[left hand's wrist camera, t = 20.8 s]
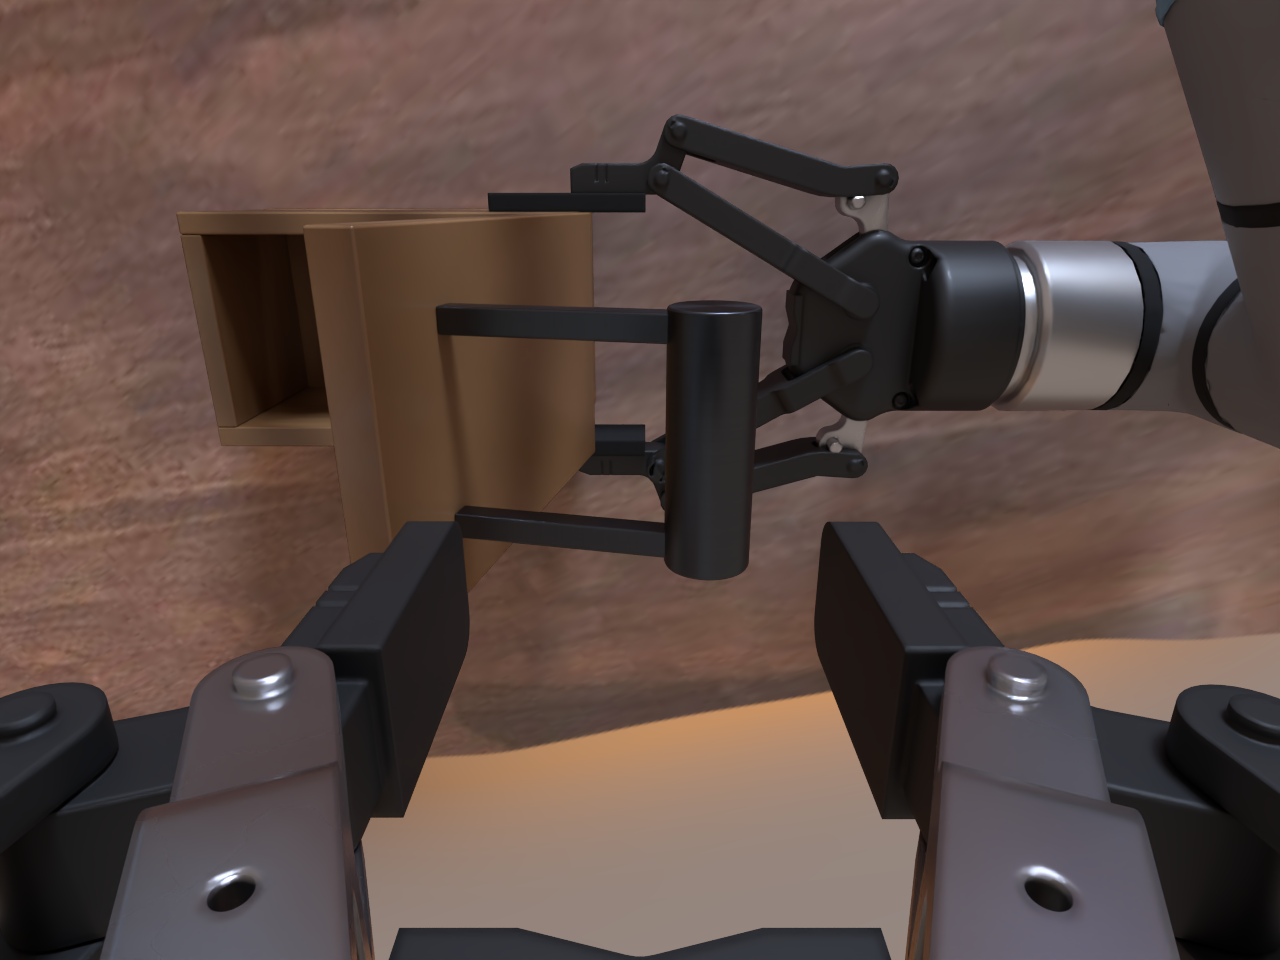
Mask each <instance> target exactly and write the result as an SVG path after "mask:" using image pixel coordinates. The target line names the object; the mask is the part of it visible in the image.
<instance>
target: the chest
mask: <svg viewBox="0 0 1280 960" xmlns="http://www.w3.org/2000/svg"><path fill="white" fill-rule="evenodd" d="M541 213H562V212H489V209H264V210H232V211H194V212H177V220H178V225H179V230H180V233H181V234H183V235H181V241H182V246H183V251H184V256H185V261H186V267H187V272H188V277H189V282H190V287H191V292H192V297H193V302H194V307H195V313H196V318H197V323H198V328H199V333H200V338H201V343H202V348H203V353H204V358H205V364H206V369H207V374H208V379H209V384H210V389H211V394H212V399H213V404H214V410H215V415H216V420H217V425H218V431H219V436H220V441H221V446H334V443H333V436H332V429H331V422H330V415H329V408H328V401H327V394H326V387H325V380H324V373H323V366H322V359H321V352H320V345H319V338H318V331H317V324H316V317H315V310H314V303H313V296H312V289H311V283H310V276H309V269H308V262H307V255H306V248H305V241H304V234H303V226H305V225H312V224H333V223H353V222H374V221H395V220H416V219H437V218H458V217H478V216H499V215H520V214H541ZM589 213H590V219H591V267H592V307H594V288H593V237H592V212H589ZM593 365H594V404H595V400H596V389H595V341H593Z"/></svg>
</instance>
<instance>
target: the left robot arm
mask: <svg viewBox="0 0 1280 960" xmlns="http://www.w3.org/2000/svg"><path fill="white" fill-rule="evenodd" d="M328 588H329V589H328V591H325V592H324V593H323V594H322V596H321V597H320V598H319V599H318V601H317V602H316V607H312V608H311V609H310V611H309V612H308V613H307V614H306V616H305V617H304V618H303V619H302V620H301V622H300V623H299V624H298V625H297V627H296V628H295V629H294V630H293V632H292V633H291V634H290V635H289V637H288V638H287V639H286V640H285V642H284V643H283V644H282V645H281V647H274V648H268V649H263V650H259V651H255V652H252V653H249V654H245V655H243V656H240V657H238V658H235V659H233V660H231V661H229V662H227V663H225V664H223V665H221V666H219V667H218V668H216V669H215V670H213V671H212V672H210V673H209V674H208V675H207V676H205V677H204V678H203V679H202V680H201V681H200V682H199V683H198V685H197V686H196V688H195V689H194V692H193V694H192V697H191V702H190V706H189V707H185V708H180V709H176V710H170V711H165V712H160V713H154V714H149V715H144V716H139V717H133V718H128V719H123V720H117V721H113V719H112V715H111V712H110V708H109V705H108V701H107V698H106V695H105V694H104V692H103V691H102V690H101V689H100V688H98V687H95V686H93V685H90V684H85V683H73V682H72V683H57V684H49V685H43V686H38V687H34V688H30V689H26V690H22V691H19V692H16V693H13V694H10V695H7V696H4V697H2V698H0V960H375V956H374V947H373V937H372V927H371V917H370V908H369V898H368V889H367V879H366V869H365V860H364V853H363V847H362V841H361V839H362V836H363V834H364V832H365V829H366V827H367V825H368V823H369V820H370V818H372V817H373V818H375V817H376V818H377V817H378V818H382V817H383V818H389V817H393V818H399V817H400V818H401V817H404V815H405V812H406V809H407V807H408V804H409V801H410V799H411V796H412V794H413V791H414V788H415V786H416V783H417V781H418V778H419V775H420V773H421V770H422V768H423V765H424V762H425V760H426V757H427V755H428V752H429V749H430V747H431V744H432V742H433V739H434V736H435V734H436V731H437V729H438V726H439V723H440V721H441V718H442V715H443V713H444V710H445V708H446V705H447V702H448V700H449V697H450V695H451V692H452V689H453V687H454V684H455V682H456V679H457V676H458V674H459V671H460V669H461V666H462V663H463V661H464V658H465V655H466V652H467V647H468V640H469V624H470V622H469V605H468V594H467V582H466V571H465V559H464V548H463V537H462V531H461V528H460V525H459V523H458V522H457V521H408V522H406V523H405V524H404V525H403V527H402V528H401V530H400V531H399V532H398V534H397V535H396V536H395V538H394V539H393V540H392V542H391V543H390V545H389V546H388V547H387V549H386V550H385V551H384V553H369V554H367V555H366V556H364V557H362V558H360V559H359V560H357V561H355V562H354V563H352V564H350V565H349V566H347V567H345V568H344V569H343V570H342V571H341V572H340V573H339V575H338V576H337V577H336V578H335V580H334V581H333V582H332V583H331V585H330V586H329V587H328ZM814 630H815V642H816V648H817V653H818V656H819V659H820V662H821V664H822V667H823V669H824V672H825V674H826V677H827V679H828V682H829V685H830V687H831V690H832V692H833V695H834V697H835V700H836V702H837V705H838V708H839V710H840V713H841V715H842V718H843V720H844V723H845V725H846V728H847V731H848V733H849V736H850V738H851V741H852V743H853V746H854V748H855V751H856V753H857V756H858V759H859V761H860V764H861V766H862V769H863V771H864V774H865V776H866V779H867V782H868V784H869V787H870V789H871V792H872V794H873V797H874V799H875V802H876V804H877V807H878V810H879V812H880V815H881V817H882V819H915V820H916V822H917V824H918V826H919V829H920V835H919V841H918V847H917V853H916V860H915V869H914V879H913V889H912V898H911V908H910V917H909V927H908V937H907V946H906V956H905V960H1280V699H1279V698H1276V697H1273V696H1270V695H1267V694H1264V693H1260V692H1257V691H1253V690H1249V689H1244V688H1239V687H1234V686H1226V685H1199V686H1194V687H1190V688H1188V689H1186V690H1184V691H1183V692H1181V693H1180V694H1179V696H1178V698H1177V700H1176V704H1175V707H1174V711H1173V714H1172V718H1171V721H1170V722H1167V721H1162V720H1157V719H1151V718H1146V717H1141V716H1135V715H1130V714H1125V713H1119V712H1114V711H1109V710H1105V709H1100V708H1096V707H1093V706H1090V702H1089V697H1088V694H1087V692H1086V689H1085V688H1084V686H1083V685H1082V683H1081V682H1080V681H1079V680H1078V679H1077V678H1076V677H1075V676H1073V675H1072V674H1071V673H1070V672H1068V671H1067V670H1065V669H1064V668H1062V667H1061V666H1059V665H1057V664H1055V663H1053V662H1051V661H1049V660H1047V659H1045V658H1042V657H1040V656H1037V655H1035V654H1031V653H1028V652H1025V651H1021V650H1017V649H1012V648H1006V647H1004V645H1003V644H1002V643H1001V642H1000V640H999V639H998V638H997V637H996V636H995V634H994V633H993V632H992V631H991V629H990V628H989V627H988V626H987V625H986V623H985V622H984V621H983V620H982V618H981V617H980V616H979V615H978V614H977V612H976V611H975V610H974V609H973V607H969V603H968V601H967V600H966V599H965V598H964V596H963V595H962V594H961V593H960V592H957V590H956V587H955V585H954V584H953V583H952V582H951V581H950V579H949V578H948V577H947V576H946V574H945V573H944V572H943V571H942V570H941V569H940V568H938V567H936V566H935V565H933V564H931V563H930V562H928V561H926V560H925V559H923V558H921V557H919V556H918V555H916V554H914V553H901V552H900V551H899V550H898V548H897V547H896V546H895V544H894V543H893V542H892V540H891V539H890V538H889V536H888V535H887V534H886V532H885V531H884V530H883V528H882V527H881V525H880V524H879V523H878V522H827V523H826V524H825V526H824V528H823V532H822V538H821V548H820V560H819V571H818V582H817V594H816V605H815V617H814ZM389 960H891V958H890V955H889V952H888V949H887V946H886V943H885V940H884V936H883V934H882V930H881V928H761V929H756V930H753V931H748V932H744V933H740V934H736V935H732V936H728V937H724V938H720V939H716V940H712V941H708V942H704V943H700V944H696V945H692V946H688V947H684V948H680V949H676V950H672V951H668V952H664V953H660V954H656V955H651V956H645V957H635V956H629V955H624V954H620V953H616V952H612V951H608V950H604V949H600V948H596V947H592V946H588V945H584V944H580V943H576V942H572V941H568V940H564V939H560V938H556V937H552V936H548V935H544V934H540V933H536V932H532V931H528V930H524V929H520V928H399V930H398V934H397V936H396V940H395V943H394V946H393V949H392V952H391V955H390V958H389Z"/></svg>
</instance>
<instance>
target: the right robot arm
mask: <svg viewBox="0 0 1280 960" xmlns="http://www.w3.org/2000/svg"><path fill="white" fill-rule="evenodd" d="M1156 4H1157V6H1156V9H1155V11H1156V16H1157V18H1158V21H1159V24H1160V25H1161V26H1163V27H1165V31H1166V34H1167V37H1168V41H1169V44H1170V47H1171V51H1172V54H1173V57H1174V61H1175V64H1176V67H1177V71H1178V74H1179V77H1180V80H1181V84H1182V87H1183V90H1184V94H1185V97H1186V100H1187V104H1188V107H1189V110H1190V114H1191V117H1192V120H1193V123H1194V127H1195V130H1196V133H1197V137H1198V140H1199V143H1200V147H1201V150H1202V153H1203V157H1204V160H1205V163H1206V167H1207V170H1208V173H1209V176H1210V180H1211V183H1212V186H1213V190H1214V193H1215V197H1216V200H1217V205H1218V208H1219V212H1220V215H1221V221H1222V224H1223V228H1224V231H1225V235H1226V239H1227V241H1181V242H1140V243H1126V242H1111V241H1016V242H1012V243H1011V244H1009V245H1007V246H1006V247H1004V246H1003V245H1002V244H1000V243H999V242H996V241H906V240H903V239H901V238H899V237H897V236H895V235H894V234H892V233H890V232H888V231H887V228H888V203H889V193H890V192H891V191H893V190H894V189H895V187H896V185H897V183H898V179H899V177H898V172H897V170H896V168H895V167H894V166H892V165H891V164H885V163H884V164H870V165H856V166H840V165H837V164H834V163H831V162H828V161H825V160H822V159H819V158H815V157H812V156H809V155H806V154H803V153H800V152H797V151H794V150H790V149H787V148H784V147H781V146H778V145H775V144H772V143H769V142H765V141H762V140H759V139H756V138H753V137H750V136H747V135H744V134H740V133H737V132H734V131H731V130H728V129H725V128H722V127H719V126H716V125H712V124H709V123H706V122H703V121H700V120H697V119H694V118H691V117H687V116H684V115H674V116H671V117H670V118H669V119H668V120H667V122H666V124H665V126H664V129H663V132H662V134H661V137H660V140H659V143H658V146H657V149H656V151H655V153H654V155H653V156H652V157H651V158H650V159H649V160H648V161H646V162H643V163H582V164H579V165H577V166H575V167H573V168H570V178H571V193H488V205H489V212H645V194H651V195H658V196H660V197H661V198H663V199H665V200H666V201H668V202H669V203H671V204H673V205H674V206H676V207H678V208H679V209H681V210H682V211H684V212H686V213H687V214H689V215H691V216H692V217H694V218H695V219H697V220H699V221H700V222H702V223H704V224H705V225H707V226H709V227H710V228H712V229H713V230H715V231H717V232H718V233H720V234H722V235H723V236H725V237H726V238H728V239H730V240H731V241H733V242H735V243H736V244H738V245H739V246H741V247H743V248H744V249H746V250H748V251H749V252H751V253H752V254H754V255H756V256H757V257H759V258H761V259H762V260H764V261H765V262H767V263H769V264H770V265H772V266H773V267H775V268H777V269H778V270H780V271H781V272H783V273H785V274H786V275H788V276H790V277H791V278H793V279H795V280H794V282H793V283H792V285H791V288H790V290H787V293H786V312H787V317H788V321H789V326H788V329H787V332H786V335H785V338H784V341H783V356H782V357H783V358H784V360H785V362H786V365H784V366H782V367H781V368H779V369H777V370H775V371H773V372H772V373H770V374H769V375H767V377H766V378H765V379H764V380H762V381H761V382H759V383H758V398H757V417H756V428H758V427H760V426H762V425H764V424H765V423H767V422H769V421H771V420H773V419H775V418H777V417H779V416H780V415H783V414H788V413H792V412H795V411H797V410H799V409H801V408H803V407H805V406H806V405H808V404H810V403H812V402H814V401H816V400H818V399H819V398H821V399H822V400H823V401H825V402H826V403H828V404H829V405H830V406H832V407H833V408H834V409H836V410H837V411H838V412H840V413H841V414H842V415H841V418H840V419H839V421H838V422H837V423H836V424H834V425H831V426H826V427H823V428H821V429H820V430H819V431H818V433H817V435H816V437H807V438H799V439H795V440H791V441H787V442H783V443H779V444H776V445H772V446H768V447H765V448H761V449H757V450H755V454H754V472H753V490H752V493H754V492H758V491H762V490H766V489H770V488H773V487H777V486H781V485H785V484H788V483H792V482H796V481H800V480H803V479H807V478H811V477H815V476H828V477H844V478H858V477H860V476H862V475H863V474H864V473H865V472H866V470H867V467H868V466H867V460H866V458H865V457H864V456H863V455H862V448H863V442H864V436H865V430H866V425H867V420H870V419H872V418H874V417H876V416H878V415H880V414H882V413H885V412H889V411H896V410H901V411H979V410H983V409H985V408H987V407H989V406H990V405H991V406H993V407H994V408H996V409H997V410H1002V411H1047V410H1149V411H1174V412H1181V413H1187V414H1191V415H1194V416H1197V417H1199V418H1202V419H1205V420H1207V421H1210V422H1212V423H1215V424H1217V425H1220V426H1222V427H1225V428H1227V429H1230V430H1233V431H1236V432H1238V433H1241V434H1245V435H1247V436H1250V437H1252V438H1255V439H1257V440H1260V441H1262V442H1265V443H1267V444H1270V445H1272V446H1275V447H1277V448H1280V0H1156ZM685 155H689V156H693V157H696V158H699V159H702V160H705V161H708V162H712V163H715V164H718V165H721V166H724V167H727V168H731V169H734V170H737V171H740V172H743V173H746V174H750V175H753V176H756V177H759V178H762V179H765V180H769V181H772V182H775V183H778V184H781V185H784V186H788V187H791V188H794V189H797V190H800V191H804V192H807V193H810V194H814V195H818V196H824V197H835V207H836V209H837V211H838V212H839V213H840V214H842V215H844V216H848V217H851V218H853V219H854V220H855V221H856V222H857V224H858V226H859V232H858V233H856V234H855V235H853V236H852V237H850V238H849V239H848V240H846V241H845V242H843V243H842V244H841V245H839V246H838V247H836V248H835V249H834V250H832V251H831V252H829V253H828V254H827V255H825V256H824V257H822V258H821V259H820V258H818V257H817V256H815V255H814V254H812V253H810V252H809V251H807V250H806V249H804V248H802V247H800V246H799V245H797V244H795V243H793V242H792V241H790V240H788V239H787V238H785V237H784V236H782V235H780V234H779V233H777V232H776V231H774V230H772V229H771V228H769V227H768V226H766V225H764V224H763V223H761V222H760V221H758V220H756V219H755V218H753V217H752V216H750V215H748V214H747V213H745V212H743V211H742V210H740V209H739V208H737V207H735V206H734V205H732V204H731V203H729V202H727V201H726V200H724V199H723V198H721V197H719V196H718V195H716V194H715V193H713V192H711V191H710V190H708V189H707V188H705V187H703V186H702V185H700V184H699V183H697V182H695V181H694V180H692V179H691V178H689V177H687V176H686V175H684V174H683V173H681V172H680V169H681V166H682V163H683V160H684V158H685ZM665 448H666V434H664V435H662V436H660V437H659V438H657V439H655V440H653V441H652V442H645V425H595V452H594V453H593V455H592V456H591V457H590V458H589V459H588V460H587V461H586V462H585V463H584V465H583V466H582V467H581V468H580V469H579V471H581V472H584V473H586V474H589V475H643V476H646V477H648V478H649V479H650V480H651V481H652V482H653V484H654V486H655V488H656V491H657V493H658V496H659V499H660V502H661V507H662V508H663V510H664V511H665Z"/></svg>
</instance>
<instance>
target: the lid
mask: <svg viewBox="0 0 1280 960" xmlns="http://www.w3.org/2000/svg"><path fill="white" fill-rule="evenodd" d="M303 234H304V241H305V248H306V255H307V262H308V269H309V276H310V283H311V289H312V296H313V303H314V310H315V317H316V324H317V331H318V338H319V345H320V352H321V359H322V366H323V373H324V380H325V387H326V394H327V401H328V408H329V415H330V422H331V429H332V436H333V443H334V450H335V457H336V464H337V471H338V478H339V485H340V492H341V499H342V506H343V513H344V520H345V527H346V534H347V541H348V548H349V555H350V562H351V564H352V563H354V562H355V561H357V560H359V559H360V558H362V557H364V556H366V555H367V554H369V553H384V551H385V550H386V549H387V547H388V546H389V545H390V543H391V542H392V540H393V539H394V538H395V536H396V535H397V534H398V532H399V531H400V530H401V528H402V527H403V525H404V524H405V523H406V522H408V521H457V522H458V523H459V525H460V528H461V531H462V537H463V548H464V559H465V571H466V582H467V593H468V592H469V591H470V590H471V589H472V588H473V587H474V586H475V584H476V583H477V582H478V581H479V580H480V579H481V578H482V577H483V576H484V574H485V573H486V572H487V571H488V570H489V569H490V568H491V567H492V566H493V564H494V563H495V562H496V561H497V560H498V559H499V558H500V557H501V556H502V554H503V553H504V552H505V551H506V550H507V549H508V548H509V547H510V546H511V544H512V543H520V544H531V545H541V546H551V547H561V548H572V549H582V550H592V551H602V552H613V553H623V554H633V555H644V556H654V557H664V561H665V564H666V565H667V567H668V568H669V569H670V570H671V571H673V572H675V573H676V574H679V575H681V576H684V577H687V578H692V579H698V580H721V579H727V578H731V577H734V576H737V575H739V574H740V573H742V572H743V571H744V570H745V569H746V568H747V566H748V563H749V545H750V527H751V509H752V490H753V472H754V454H755V435H756V417H757V398H758V380H759V362H760V343H761V325H762V308H761V307H760V306H758V305H756V304H752V303H746V302H736V301H715V300H707V301H686V302H679V303H674V304H671V305H669V306H668V308H667V309H634V308H601V307H592V267H591V219H590V213H589V212H562V213H541V214H520V215H499V216H478V217H458V218H437V219H416V220H395V221H374V222H353V223H333V224H312V225H305V226H303ZM593 341H603V342H629V343H654V344H667V367H666V448H665V523H660V522H649V521H637V520H626V519H614V518H603V517H592V516H580V515H569V514H558V513H546V512H541V511H542V510H543V509H544V508H545V507H546V506H547V504H548V503H549V502H550V501H551V500H552V499H553V498H554V497H555V496H556V494H557V493H558V492H559V491H560V490H561V489H562V488H563V487H564V486H565V484H566V483H567V482H568V481H569V480H570V479H571V478H572V477H573V476H574V475H575V473H576V472H577V471H578V470H579V469H580V468H581V467H582V466H583V465H584V463H585V462H586V461H587V460H588V459H589V458H590V457H591V456H592V455H593V453H594V452H595V413H594V365H593Z"/></svg>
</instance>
